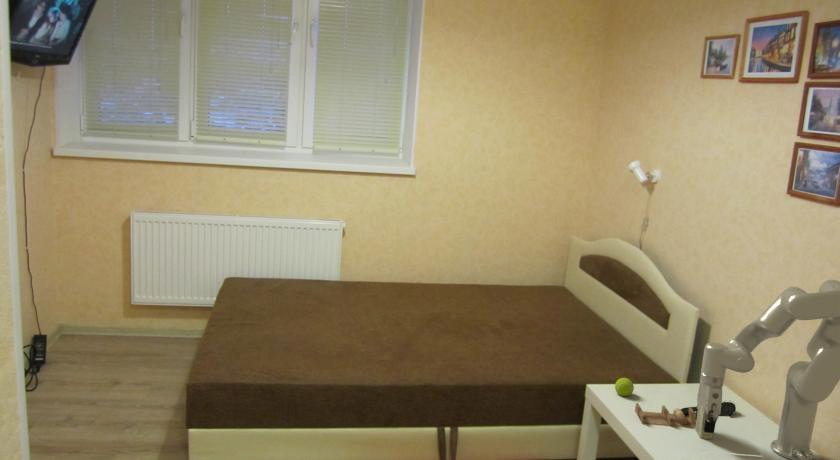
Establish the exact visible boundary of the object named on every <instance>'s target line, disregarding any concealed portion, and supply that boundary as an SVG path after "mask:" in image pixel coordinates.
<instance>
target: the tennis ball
mask: <svg viewBox="0 0 840 460" xmlns="http://www.w3.org/2000/svg"><path fill="white" fill-rule="evenodd" d="M614 389H615V392H616V394H618V395H619V396H622V397H629V396H631V395H632V394H633V392H634V390H635V387H634V383H633V381H631V380H630V379H629V378H626V377H621V378H619V379H617V380H616V381H615V385H614Z"/></svg>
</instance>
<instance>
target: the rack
mask: <svg viewBox="0 0 840 460" xmlns="http://www.w3.org/2000/svg"><path fill="white" fill-rule="evenodd" d="M634 408H635V409H634V412H635V414H636V415H637V417H638V419H639V421H640V422H641V424H643V425H653V426H661V427H662V426H664V427H665V426H666V427H674V428H683V429H684V428H685V429H686V428H687V429H695V428H696V419H695V417H696V412H694V411H693V410H692V408H689V411H688V412H689V414H687V415H685V416H686V418H687V419H688V423H687V424H686V425H681V424H680V423H679V421H678V420H677V418H676V417H675V415H674V413H670V411H669V410H668V409H667V407H666V406H665V405H661V412H656V411H655V412H654V411H644V410H643V409H642V408H641V406H640V404H639V403H638V402H636V403H635V407H634Z"/></svg>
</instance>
